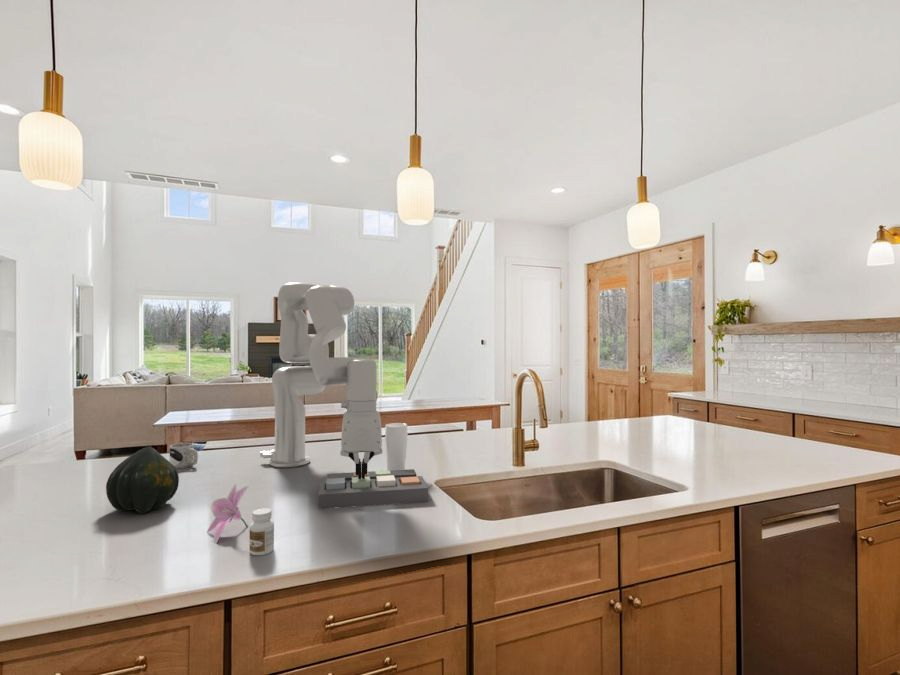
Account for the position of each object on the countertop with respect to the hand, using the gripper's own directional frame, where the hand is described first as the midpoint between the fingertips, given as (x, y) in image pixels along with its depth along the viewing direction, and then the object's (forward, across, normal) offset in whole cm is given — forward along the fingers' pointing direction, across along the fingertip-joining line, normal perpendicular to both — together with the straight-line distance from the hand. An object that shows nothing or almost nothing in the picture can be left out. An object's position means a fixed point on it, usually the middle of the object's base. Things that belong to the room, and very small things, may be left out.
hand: (361, 477), depth 123 cm
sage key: (+3, 0, 0) cm, 3 cm away
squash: (+5, -52, +3) cm, 52 cm away
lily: (+6, -28, -16) cm, 33 cm away
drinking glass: (+6, +11, +20) cm, 24 cm away
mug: (+5, -54, +41) cm, 68 cm away
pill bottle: (+6, -20, -27) cm, 34 cm away
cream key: (+3, +6, 0) cm, 7 cm away
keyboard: (+5, +3, +2) cm, 7 cm away
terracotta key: (+4, +13, 0) cm, 13 cm away
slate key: (+3, -6, 0) cm, 7 cm away
